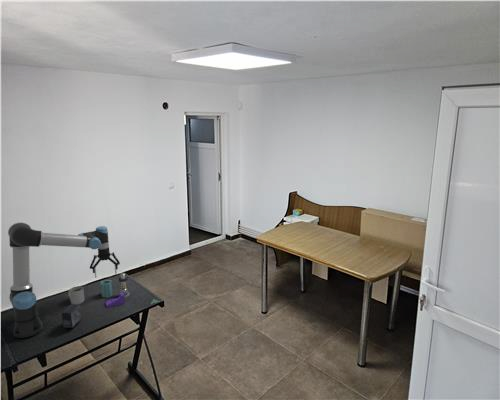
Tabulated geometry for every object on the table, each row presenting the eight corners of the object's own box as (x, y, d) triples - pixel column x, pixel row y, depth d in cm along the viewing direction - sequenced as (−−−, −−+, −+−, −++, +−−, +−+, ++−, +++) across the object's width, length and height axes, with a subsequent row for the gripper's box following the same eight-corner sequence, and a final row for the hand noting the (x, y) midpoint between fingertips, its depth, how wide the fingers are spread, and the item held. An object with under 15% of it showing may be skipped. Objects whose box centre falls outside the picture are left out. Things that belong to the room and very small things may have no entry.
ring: (119, 282, 245) (118, 279, 244) (118, 279, 250) (118, 276, 250) (127, 281, 247) (127, 278, 247) (127, 277, 253) (126, 275, 252)
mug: (85, 302, 241) (84, 289, 239) (70, 306, 235) (69, 293, 234) (83, 296, 250) (81, 283, 248) (68, 300, 244) (67, 287, 242)
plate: (118, 299, 246) (118, 297, 246) (118, 294, 253) (117, 293, 253) (130, 297, 249) (130, 295, 249) (129, 292, 256) (129, 291, 256)
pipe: (120, 296, 248) (119, 275, 245) (120, 293, 252) (119, 273, 249) (127, 295, 250) (126, 274, 247) (127, 292, 254) (125, 272, 251)
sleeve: (101, 299, 246) (100, 285, 244) (101, 294, 253) (100, 281, 250) (112, 297, 249) (111, 283, 247) (112, 292, 256) (111, 279, 254)
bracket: (123, 299, 246) (122, 291, 245) (124, 304, 240) (124, 295, 239) (105, 303, 240) (104, 294, 239) (106, 308, 234) (105, 298, 233)
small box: (71, 318, 220) (70, 303, 218) (81, 319, 220) (80, 304, 218) (62, 327, 210) (60, 312, 208) (72, 328, 209) (71, 312, 207)
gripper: (84, 252, 235) (87, 280, 239) (122, 246, 245) (124, 274, 250) (84, 248, 242) (87, 276, 246) (121, 243, 252) (123, 270, 256)
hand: (105, 275), depth 248 cm, fingers open, 13 cm apart
